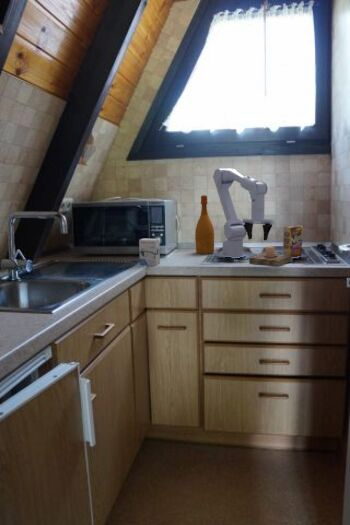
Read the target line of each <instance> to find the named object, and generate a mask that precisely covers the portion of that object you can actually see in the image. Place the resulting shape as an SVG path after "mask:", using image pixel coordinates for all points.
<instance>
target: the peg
mask: <svg viewBox="0 0 350 525" xmlns="http://www.w3.org/2000/svg"><path fill="white" fill-rule="evenodd" d="M265 253H266V258H275V254H276V247H275V246H272V245H270V246H266V247H265Z"/></svg>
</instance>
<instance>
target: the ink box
mask: <svg viewBox="0 0 350 525" xmlns="http://www.w3.org/2000/svg"><path fill="white" fill-rule="evenodd" d="M138 244H139V245H138V246H139V249H138V251H139V265H140V264H142V265H143V266H158V265H160V263H161V258H160V257H161V256H160V254H161V253H160V252H161V251H160V250H161V249H160V239H159V238H144V237H143V238H140V239H139V240H138Z"/></svg>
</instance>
